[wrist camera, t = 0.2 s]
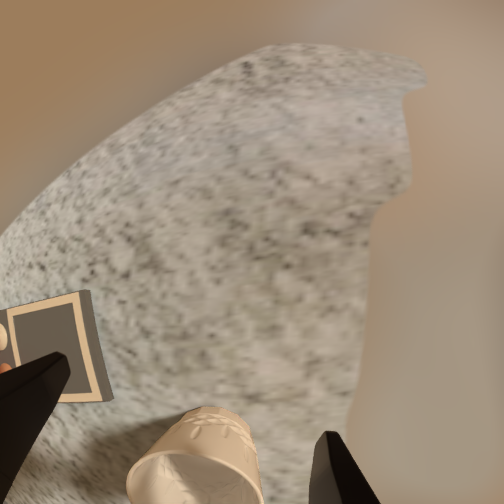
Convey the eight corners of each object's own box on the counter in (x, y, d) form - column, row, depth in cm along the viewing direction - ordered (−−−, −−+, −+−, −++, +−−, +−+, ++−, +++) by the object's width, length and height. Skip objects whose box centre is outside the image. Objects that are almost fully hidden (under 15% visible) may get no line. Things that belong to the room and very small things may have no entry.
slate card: (114, 398, 22) (108, 401, 20) (8, 399, 21) (1, 400, 20) (90, 290, 24) (83, 289, 22) (-9, 314, 23) (-16, 313, 22)
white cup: (249, 482, 20) (247, 553, 10) (163, 461, 20) (124, 522, 11) (269, 410, 22) (279, 468, 12) (176, 388, 22) (130, 431, 12)
